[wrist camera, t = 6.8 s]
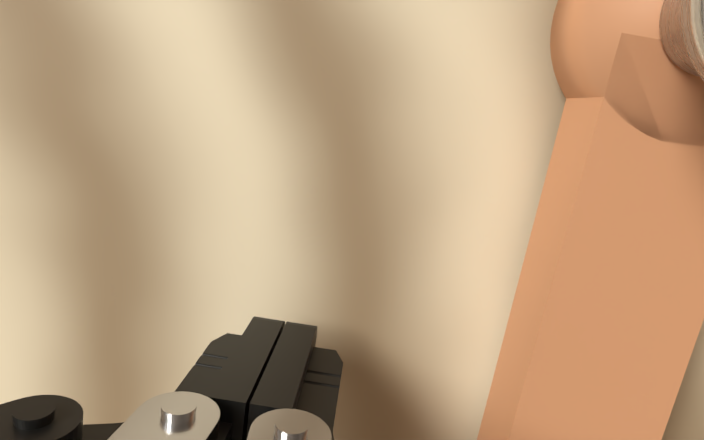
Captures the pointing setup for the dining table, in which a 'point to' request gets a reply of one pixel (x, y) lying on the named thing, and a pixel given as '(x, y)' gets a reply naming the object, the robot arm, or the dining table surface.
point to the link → (608, 240)
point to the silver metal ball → (684, 34)
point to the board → (275, 196)
